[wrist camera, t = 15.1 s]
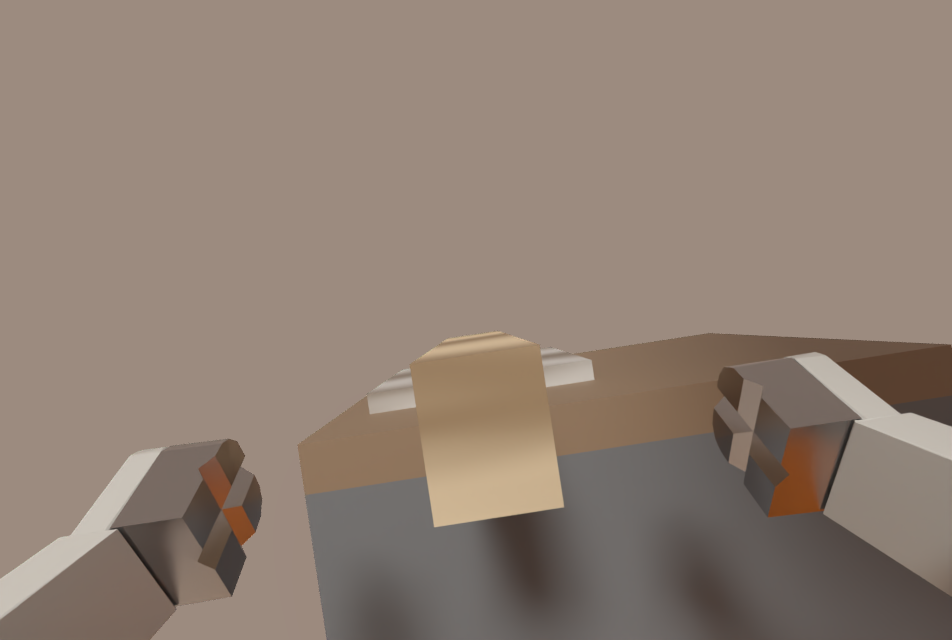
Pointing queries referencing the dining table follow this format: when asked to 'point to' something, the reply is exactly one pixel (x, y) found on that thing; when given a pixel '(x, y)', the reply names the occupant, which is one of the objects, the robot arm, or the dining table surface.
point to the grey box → (618, 518)
